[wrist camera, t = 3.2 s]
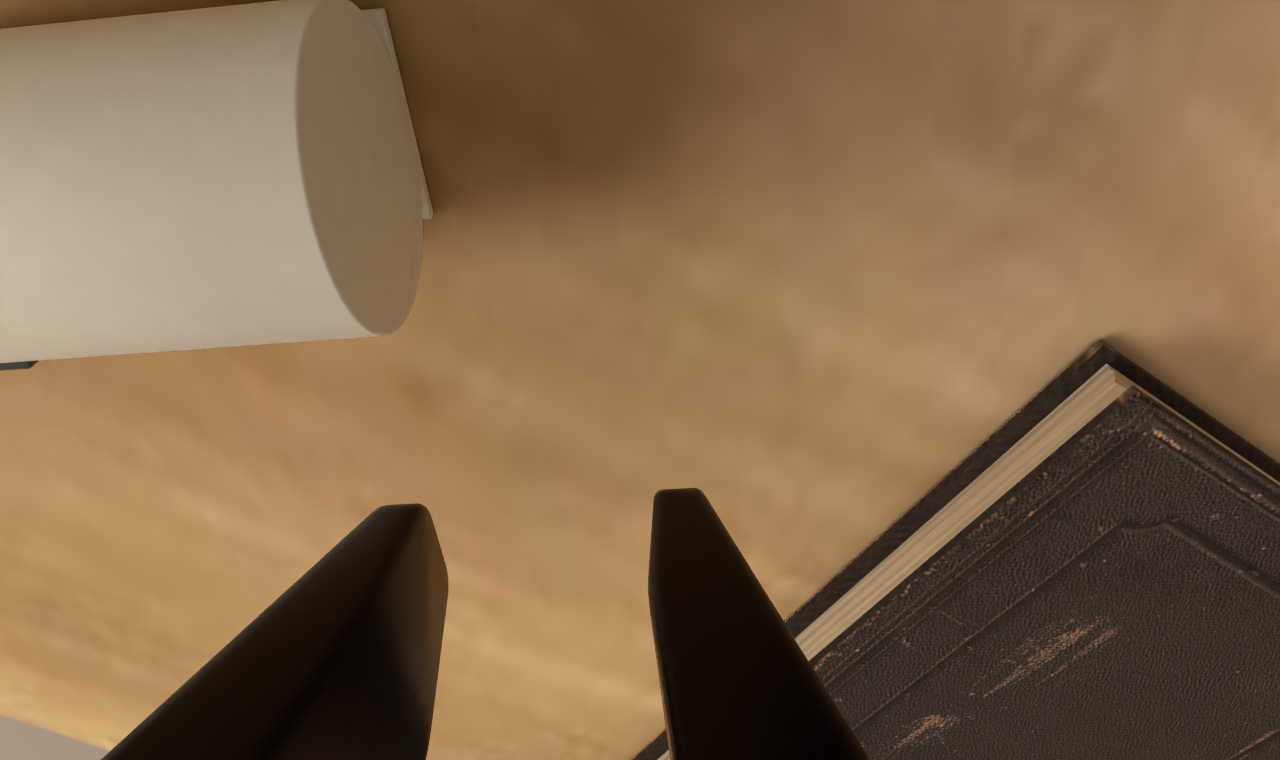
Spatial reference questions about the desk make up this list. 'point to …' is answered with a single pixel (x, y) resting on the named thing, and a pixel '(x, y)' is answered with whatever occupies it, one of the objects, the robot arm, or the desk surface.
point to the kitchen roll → (205, 181)
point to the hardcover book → (1068, 592)
